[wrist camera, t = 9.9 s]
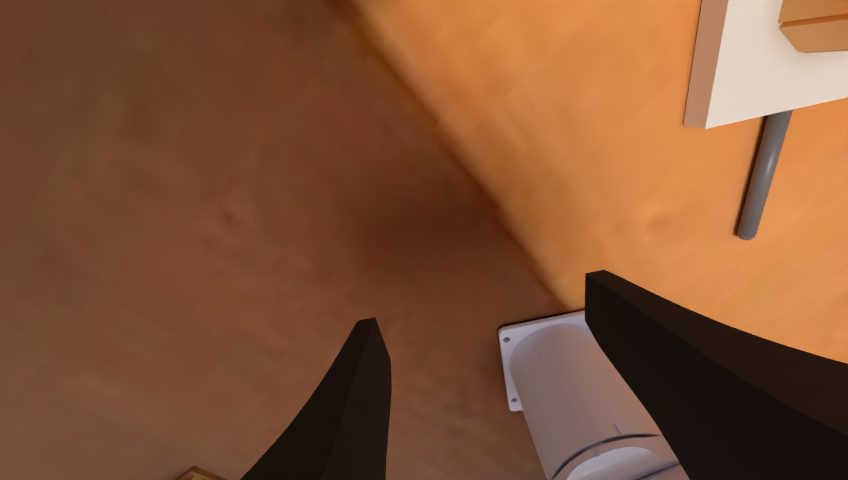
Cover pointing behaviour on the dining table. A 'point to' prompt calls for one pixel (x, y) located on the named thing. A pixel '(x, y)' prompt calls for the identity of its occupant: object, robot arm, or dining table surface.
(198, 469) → the diary
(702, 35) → the white base
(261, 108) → the dining table surface
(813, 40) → the ribbed domed knob
